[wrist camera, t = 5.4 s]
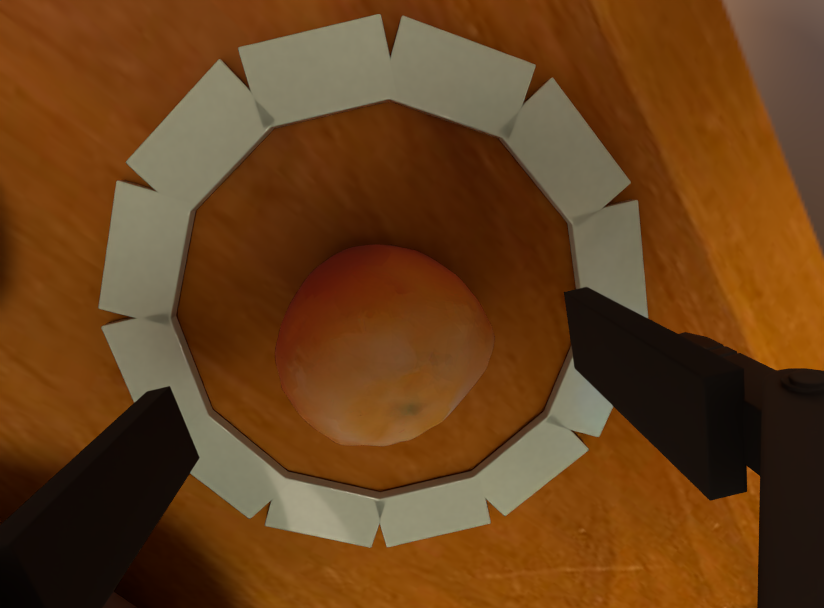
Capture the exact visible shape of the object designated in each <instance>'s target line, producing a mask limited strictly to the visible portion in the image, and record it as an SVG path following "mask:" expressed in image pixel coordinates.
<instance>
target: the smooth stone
mask: <svg viewBox="0 0 824 608" xmlns="http://www.w3.org/2000/svg"><path fill="white" fill-rule="evenodd" d="M103 608H137V607H136V606H134V605H133V604H131V603H130V602H128V601H127V600H125V599H124V598H122V597H121V596H119V595H118V594H116V593H115V592H113V593H112V594H111V596H110V597H109V599H108V600H107V602H106V604H105V605H104V607H103Z"/></svg>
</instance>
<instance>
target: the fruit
mask: <svg viewBox="0 0 824 608" xmlns="http://www.w3.org/2000/svg"><path fill="white" fill-rule="evenodd" d="M494 340H495V336H494V333H493V328H492V325H491V323H490V322H489V320H488V319H487V316H486V314H485V312H484V310H483V308H482V306H481V304H480V303H479V301H478V300H477V298H476V297H475V296H474V294H473V293H472V292H471V291H470V290H469V288H468V287H467V286H466V285H465V284H464V282H463V281H462V280H461V279H460V278H459V277H458V276H457V275H455V274H454V273H453V272H451V271H450V270H449V269H447V268H446V267H444V266H443V265H441V264H440V263H438V262H437V261H435V260H434V259H432V258H431V257H429V256H427V255H425V254H423V253H421V252H419V251H416V250H412V249H407V248H401V247H398V246H393V245H379V244H374V245H362V246H355V247H351V248H347V249H345V250H343V251H341V252H339V253H337V254H335V255H333V256H331V257H330V258H328V259H327V260H326V261H325V262H323V263H322V264H320V265H319V266H318V267H316V268H315V269H314V270H313V271H312V272H311V273H310V274H309V275H308V277H307V278H306V279H305V281H304V282H303V284H302V285H301V287H300V288H299V290H298V291H297V293H296V295H295V296H294V298H293V299H292V301H291V303H290V305H289V307H288V309H287V311H286V314H285V316H284V318H283V321H282V324H281V327H280V331H279V335H278V339H277V343H276V348H275V361H276V365H277V368H278V372H279V376H280V380H281V386H282V390H283V391H284V393H285V394H286V395H287V396H288V398H289V400H290V402H291V403H292V405H293V406H294V408H295V409H296V410H297V412H298V413H299V414H300V416H301V417H302V418H303V419H304V420H305V421H306V422H308V423H309V424H310V425H311V426H312V427H313V428H315V429H316V430H318V431H319V432H320V433H322V434H324V435H326V436H327V437H328V438H330V439H331V440H332V441H333V442H336V443H338V444H340V445H352V446H353V445H373V446H386V445H392V444H395V443H398V442H401V441H407V440H411V439H413V438H415V437H417V436H419V435H420V434H422V433H423V432H425V431H427V430H428V429H430V428H432V427H433V426H435V425H437V424H439V423H441V422H442V421H443V420H444V419H445V418H446V417H447V416H448V415H449V414H450V413H451V412H452V411H453V410H454V409H455V407H456V406H457V405H458V404H459V403H460V401H461V400H462V399H463V398H464V397H465V395H466V394H467V393H468V392H469V391H470V389H471V388H472V387H473V386H474V385H475V383H476V382H477V381H478V379H479V378H480V377H481V375H482V374H483V373H484V371H485V370H486V368H487V365H488V362H489V358H490V356H491V353H492V350H493V346H494Z"/></svg>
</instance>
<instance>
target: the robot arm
mask: <svg viewBox="0 0 824 608" xmlns="http://www.w3.org/2000/svg"><path fill="white" fill-rule="evenodd" d="M564 296H565V303H566V311H567V318H568V325H569V332H570V340H571V347H572V354H573V361H574V368H575V369H576V370H577V371H578V372H579V373H580V374H581V375H582V376H583V377H584V378H585V379H586V380H587V381H588V382H589V383H590V384H591V385H592V386H593V387H594V388H595V389H596V390H597V391H598V392H599V393H600V394H601V395H602V396H603V397H604V398H605V399H607V400H608V401H609V402H610V403H611V404H612V405H613V406H614V407H615V408H616V409H617V410H618V411H619V412H620V413H621V414H622V415H623V416H624V417H625V418H626V419H627V420H628V421H629V422H630V423H631V424H632V425H633V426H634V427H635V428H636V429H637V430H638V431H639V432H640V433H641V434H642V435H643V436H644V437H645V438H647V439H648V440H649V441H650V442H651V443H652V444H653V445H654V446H655V447H656V448H657V449H658V450H659V451H660V452H661V453H662V454H663V455H664V456H665V457H666V458H667V459H668V460H669V461H670V462H671V463H672V464H673V465H674V466H675V467H676V468H677V469H678V470H679V471H680V472H681V473H682V474H683V475H684V476H686V477H687V478H688V479H689V480H690V481H691V482H692V483H693V484H694V485H695V486H696V487H697V488H698V489H699V490H700V491H701V492H702V493H703V494H704V495H705V496H706V497H707V498H708V499H709V500H714V499H718V498H723V497H727V496H731V495H735V494H739V493H743V492H747V469H746V465H747V466H748V467H749V468H751V469H752V470H753V471H754V472H756V473H757V474H758V475H759V476H760V513H759V561H758V608H824V371H821V370H813V369H784V370H778V371H776V370H774V369H772V368H770V367H768V366H766V365H764V364H762V363H760V362H758V361H755V360H753V359H751V358H749V357H747V356H745V355H743V354H741V353H738V354H737V351H735V350H733V349H731V348H729V347H727V346H726V347H724V346H723V345H722V344H720V343H718V342H716V341H714V340H712V339H710V338H708V337H704V336H700V335H695V334H691V333H687V332H685V333H681V334H677V333H675V332H673V331H671V330H669V329H667V328H665V327H663V326H661V325H659V324H657V323H656V322H654V321H652V320H650V319H648V318H646V317H644V316H642V315H640V314H638V313H636V312H634V311H633V310H631V309H629V308H627V307H625V306H623V305H621V304H619V303H617V302H615V301H613V300H611V299H610V298H608V297H606V296H604V295H602V294H600V293H598V292H596V291H594V290H592V289H590V288H588V287H583V288H579V289H575V290H571V291H567V292H564ZM199 458H200V457H199V455H198V452H197V450H196V448H195V445H194V443H193V440H192V438H191V436H190V433H189V431H188V428H187V426H186V423H185V421H184V419H183V416H182V414H181V411H180V409H179V407H178V404H177V402H176V399H175V397H174V394H173V392H172V390H171V387H170V386H168V387H163V388H159V389H155V390H151V391H147V392H146V393H145V394H144V395H142V396H141V397H140V398H139V399H138V400H137V401H136V402H135V403H134V404H133V405H131V406H130V407H129V408H128V409H127V410H126V411H125V412H124V413H123V414H122V415H121V416H119V417H118V418H117V419H116V420H115V421H114V422H113V423H112V424H111V425H110V426H108V427H107V428H106V429H105V430H104V431H103V432H102V433H101V434H100V435H99V436H97V437H96V438H95V439H94V440H93V441H92V442H91V443H90V444H89V445H88V446H87V447H85V448H84V449H83V450H82V451H81V452H80V453H79V454H78V455H77V456H76V457H74V458H73V459H72V460H71V461H70V462H69V463H68V464H67V465H66V466H65V467H63V468H62V469H61V470H60V471H59V472H58V473H57V474H56V475H55V476H54V477H53V478H51V479H50V480H49V481H48V482H47V483H46V484H45V485H44V486H43V487H42V488H40V489H39V490H38V491H37V492H36V493H35V494H34V495H33V496H32V497H31V498H29V499H28V500H27V501H26V502H25V503H24V504H23V505H22V506H21V507H20V508H19V509H17V510H16V511H15V512H14V513H13V514H12V515H11V516H10V517H9V518H8V519H6V520H5V521H4V522H3V523H2V524H1V525H0V608H103V607H104V605H105V604H106V602H107V600H108V599H109V597H110V596H111V594H112V593H113V591H114V590H115V588H116V587H117V585H118V583H119V582H120V580H121V579H122V577H123V576H124V574H125V573H126V571H127V570H128V568H129V566H130V565H131V563H132V562H133V560H134V559H135V557H136V556H137V554H138V553H139V551H140V549H141V548H142V546H143V545H144V543H145V542H146V540H147V539H148V537H149V536H150V534H151V532H152V531H153V529H154V528H155V526H156V525H157V523H158V522H159V520H160V519H161V517H162V515H163V514H164V512H165V511H166V509H167V508H168V506H169V505H170V503H171V501H172V500H173V498H174V497H175V495H176V494H177V492H178V491H179V489H180V488H181V486H182V484H183V483H184V481H185V480H186V478H187V477H188V475H189V474H190V472H191V471H192V469H193V467H194V466H195V464H196V463H197V461H198V460H199Z"/></svg>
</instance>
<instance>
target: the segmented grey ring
mask: <svg viewBox="0 0 824 608" xmlns="http://www.w3.org/2000/svg"><path fill="white" fill-rule="evenodd" d="M238 51H239V54H240V58H241V61H242V64H243V68H244V71H245V74H246V78H247V81H248V84H249V88H250V89H249V88H248V86H247V85H246V84H245V83H244V82H243V81H242V80H241V79H240V78H239V77H238V76H237V75H236V74H235V73H234V72H233V71H232V69H231V68H230V67H229V66H228V65H227V64H226V63H225V62H223V61H222V60H221V59H219V60H218V61H217V62H216V63H215V64H214V65H213V66H212V67H211V68H210V69H209V71H208V72H207V73H206V74H205V75H204V76H203V77H202V78H201V79H200V80H199V82H198V83H197V84H196V85H195V86H194V87H193V88H192V89H191V90H190V91H189V93H188V94H187V95H186V96H185V97H184V98H183V99H182V100H181V101H180V102H179V104H178V105H177V106H176V107H175V108H174V109H173V110H172V111H171V112H170V114H169V115H168V116H167V117H166V118H165V119H164V120H163V121H162V122H161V123H160V125H159V126H158V127H157V128H156V129H155V130H154V131H153V132H152V133H151V134H150V136H149V137H148V138H147V139H146V140H145V141H144V142H143V143H142V144H141V145H140V147H139V148H138V149H137V150H136V151H135V152H134V153H133V154H132V155H131V156H130V158H129V159H128V160H127V161H126V164H128V165H129V166H130V167H131V168H132V169H133V170H134V171H135V172H136V173H137V174H138V175H139V176H140V177H141V178H143V179H144V180H145V181H146V182H147V183H148V184H149V185H150V186H151V187H152V188H149V187H146V186H142V185H139V184H136V183H132V182H129V181H125V180H117V181H116V188H115V195H114V202H113V209H112V216H111V223H110V230H109V237H108V244H107V251H106V258H105V265H104V272H103V279H102V286H101V293H100V300H99V307H98V308H99V309H102V310H106V311H110V312H114V313H118V314H121V315H125V316H129V317H130V318H126V319H122V320H117V321H113V322H109V323H107V324H105V325H103V326H102V327H101V328H102V330H103V333H104V335H105V337H106V339H107V342H108V344H109V346H110V348H111V351H112V353H113V355H114V358H115V360H116V362H117V364H118V367H119V369H120V371H121V373H122V376H123V378H124V380H125V383H126V385H127V387H128V389H129V392H130V394H131V396H132V398H133V401H134V403H135V402H136V401H137V400H138V399H139V398H140V397H141V396H142V395H144V394H145V393H146V392H147V391H151V390H155V389H159V388H163V387H168V386H170V387H171V390H172V392H173V394H174V397H175V399H176V402H177V404H178V407H179V409H180V411H181V414H182V416H183V419H184V421H185V423H186V426H187V428H188V431H189V433H190V436H191V438H192V440H193V443H194V445H195V448H196V450H197V452H198V455H199V457H200V458H199V460H198V461H197V463H196V464H195V466H194V467H193V469H192V471H191V472H190V474H192V475H193V476H194V477H196V478H197V479H198V480H199V481H201V482H202V483H203V484H205V485H206V486H207V487H209V488H210V489H211V490H212V491H214V492H215V493H216V494H218V495H219V496H220V497H222V498H223V499H224V500H225V501H227V502H228V503H229V504H231V505H232V506H233V507H234V508H236V509H237V510H238V511H240V512H241V513H242V514H244V515H245V516H246V517H247V518H249V519H250V518H252V517H253V516H254V515H255V514H256V513H257V512H258V511H260V510H261V509H262V508H263V507H264V506H265V505H266V504H268V503H269V502H270V501H271V503H270V507H269V510H268V514H267V518H266V521H265V526H268V527H273V528H278V529H283V530H287V531H292V532H297V533H302V534H307V535H312V536H316V537H321V538H326V539H331V540H336V541H341V542H346V543H350V544H355V545H360V546H365V547H370V548H371V547H372V544H373V541H374V538H375V535H376V532H377V529H378V526H379V524H380V526H381V530H382V533H383V536H384V540H385V543H386V546H387V547H391V546H396V545H400V544H404V543H408V542H413V541H417V540H421V539H426V538H430V537H434V536H438V535H443V534H447V533H451V532H456V531H460V530H464V529H468V528H473V527H477V526H481V525H486V524H490V523H491V521H490V516H489V511H488V507H487V502H486V499H487V500H488V501H489V502H490V503H491V504H492V505H493V506H494V507H495V508H496V509H498V510H499V511H500V512H501V513H502V514H503V515H504V516H506V515H507V514H509V513H510V512H511V511H512V510H514V509H515V508H516V507H518V506H519V505H520V504H521V503H523V502H524V501H525V500H526V499H528V498H529V497H530V496H531V495H533V494H534V493H535V492H536V491H538V490H539V489H540V488H542V487H543V486H544V485H545V484H547V483H548V482H549V481H550V480H552V479H553V478H554V477H555V476H557V475H558V474H559V473H560V472H562V471H563V470H564V469H565V468H567V467H568V466H569V465H571V464H572V463H573V462H574V461H576V460H577V459H578V458H579V457H581V456H582V455H583V454H584V453H586V452H587V451H588V450H589V449H588V447H587V446H586V445H585V443H584V442H583V441H582V440H581V439H580V438H579V437H578V436H577V435H576V434H575V433H574V432H573V431H577V432H581V433H585V434H588V435H592V436H596V437H599V436H600V434H601V432H602V430H603V428H604V425H605V423H606V421H607V419H608V417H609V414H610V412H611V410H612V408H613V405H612V404H611V403H610V402H609V401H608V400H607V399H605V398H604V397H603V396H602V395H601V394H600V393H599V392H598V391H597V390H596V389H595V388H594V387H593V386H592V385H591V384H590V383H589V382H588V381H587V380H586V379H585V378H584V377H583V376H582V375H581V374H580V373H579V372H578V371H577V370H576V369H575V368H574V361H573V354H572V347H570V349H569V352H568V354H567V357H566V359H565V361H564V364H563V366H562V369H561V371H560V373H559V376H558V378H557V381H556V383H555V385H554V388H553V390H552V393H551V395H550V397H549V400H548V402H547V405H546V407H545V409H544V412H542V413H541V414H540V415H539V416H537V417H536V418H535V419H534V420H533V421H531V422H530V423H529V424H528V425H527V426H525V427H524V428H523V429H522V430H520V431H519V432H518V433H517V434H516V435H514V436H513V437H512V438H511V439H509V440H508V441H507V442H506V443H505V444H503V445H502V446H501V447H500V448H499V449H497V450H496V451H495V452H494V453H492V454H491V455H490V456H489V457H488V458H486V459H485V460H484V461H483V462H482V463H480V464H479V465H478V466H477V467H475V468H474V469H473V470H472V471H468V472H464V473H460V474H455V475H451V476H447V477H443V478H438V479H434V480H430V481H426V482H421V483H417V484H413V485H408V486H404V487H400V488H396V489H391V490H387V491H383V492H378V491H373V490H369V489H364V488H360V487H355V486H351V485H346V484H342V483H338V482H333V481H329V480H324V479H320V478H315V477H311V476H306V475H302V474H297V473H293V472H288V471H287V470H286V469H284V468H283V467H282V466H281V465H279V464H278V463H277V462H276V461H275V460H273V459H272V458H271V457H270V456H269V455H267V454H266V453H265V452H264V451H263V450H261V449H260V448H259V447H258V446H256V445H255V444H254V443H253V442H252V441H250V440H249V439H248V438H247V437H246V436H244V435H243V434H242V433H241V432H239V431H238V430H237V429H236V428H235V427H233V426H232V425H231V424H230V423H229V422H227V421H226V420H225V419H224V418H222V417H221V416H220V415H219V414H218V413H216V412H215V411H214V410H213V409H212V407H211V404H210V401H209V399H208V396H207V394H206V391H205V389H204V386H203V383H202V381H201V378H200V376H199V373H198V371H197V368H196V365H195V363H194V360H193V358H192V355H191V353H190V350H189V347H188V345H187V342H186V340H185V337H184V335H183V332H182V329H181V327H180V324H179V322H178V319H177V317H176V313H177V308H178V302H179V297H180V292H181V286H182V281H183V276H184V270H185V265H186V260H187V254H188V249H189V244H190V238H191V233H192V228H193V222H194V217H195V212H196V210H197V209H198V208H199V207H200V206H201V205H202V203H203V202H204V201H205V200H206V199H207V198H208V197H209V196H210V195H211V194H212V193H213V192H214V191H215V190H216V189H217V188H218V187H219V186H220V185H221V184H222V183H223V182H224V181H225V179H226V178H227V177H228V176H229V175H230V174H231V173H232V172H233V171H234V170H235V169H236V168H237V167H238V166H239V165H240V164H241V163H242V162H243V161H244V160H245V159H246V158H247V157H248V155H249V154H250V153H251V152H252V151H253V150H254V149H255V148H256V147H257V146H258V145H259V144H260V143H261V142H262V141H263V140H264V139H265V138H266V137H267V136H268V135H269V134H270V133H271V131H272V130H273V129H275V128H279V127H283V126H288V125H292V124H296V123H300V122H304V121H309V120H313V119H317V118H321V117H326V116H330V115H334V114H338V113H342V112H347V111H351V110H355V109H359V108H363V107H368V106H372V105H376V104H380V103H385V102H389V101H390V102H393V103H395V104H398V105H401V106H404V107H407V108H410V109H413V110H416V111H419V112H422V113H425V114H428V115H431V116H433V117H436V118H439V119H442V120H445V121H448V122H451V123H454V124H457V125H460V126H463V127H466V128H469V129H471V130H474V131H477V132H480V133H483V134H486V135H489V136H492V137H495V138H498V139H499V140H500V141H501V142H502V143H503V145H504V146H505V147H506V148H507V149H508V151H509V152H510V153H511V154H512V156H513V157H514V158H515V159H516V161H517V162H518V163H519V164H520V165H521V167H522V168H523V169H524V170H525V172H526V173H527V174H528V175H529V177H530V178H531V179H532V180H533V181H534V183H535V184H536V185H537V186H538V188H539V189H540V190H541V191H542V193H543V194H544V195H545V196H546V197H547V199H548V200H549V201H550V202H551V204H552V205H553V206H554V207H555V209H556V210H557V211H558V212H559V213H560V215H561V216H562V217H563V218H564V220H565V221H566V222H567V224H568V232H569V239H570V247H571V254H572V262H573V270H574V277H575V285H576V289H579V288H583V287H588V288H590V289H592V290H594V291H596V292H598V293H600V294H602V295H604V296H606V297H608V298H610V299H611V300H613V301H615V302H617V303H619V304H621V305H623V306H625V307H627V308H629V309H631V310H633V311H634V312H636V313H638V314H640V315H642V316H644V317H646V318H648V309H647V298H646V286H645V275H644V263H643V252H642V241H641V229H640V218H639V207H638V200H631V199H630V200H626V201H622V202H618V203H614V204H609V205H607V204H608V203H609V202H610V201H611V200H612V199H613V198H615V197H616V196H617V195H618V194H619V193H620V192H621V191H622V190H624V189H625V188H626V187H627V186H628V185H629V184H630V183H631V182H630V180H629V179H628V177H627V176H626V175H625V173H624V172H623V171H622V169H621V168H620V167H619V165H618V164H617V163H616V161H615V160H614V159H613V157H612V156H611V155H610V153H609V152H608V151H607V149H606V148H605V147H604V145H603V144H602V143H601V141H600V140H599V139H598V137H597V136H596V135H595V133H594V132H593V131H592V129H591V128H590V127H589V125H588V124H587V123H586V121H585V120H584V119H583V117H582V116H581V115H580V113H579V112H578V111H577V109H576V108H575V107H574V105H573V104H572V103H571V101H570V100H569V99H568V97H567V96H566V94H565V93H564V92H563V90H562V89H561V88H560V86H559V85H558V84H557V82H556V81H555V80H554V78H550V79H549V80H547V81H546V82H545V83H544V84H543V85H542V86H541V87H540V88H539V89H537V90H536V91H535V92H534V93H533V94H532V95H531V96H530V97H529V98H528V99H527V100H526V101H525V102H524V100H525V97H526V94H527V91H528V88H529V85H530V82H531V79H532V76H533V73H534V70H535V67H536V65H535V64H533V63H530V62H527V61H525V60H522V59H519V58H517V57H514V56H511V55H509V54H506V53H503V52H500V51H498V50H495V49H492V48H490V47H487V46H484V45H481V44H479V43H476V42H473V41H471V40H468V39H465V38H463V37H460V36H457V35H454V34H452V33H449V32H446V31H444V30H441V29H438V28H436V27H433V26H430V25H427V24H425V23H422V22H419V21H417V20H414V19H411V18H408V17H406V16H402V17H401V20H400V23H399V27H398V31H397V35H396V38H395V42H394V46H393V49H392V53H391V57H390V54H389V50H388V45H387V40H386V36H385V31H384V27H383V22H382V17H381V14H376V15H372V16H368V17H364V18H360V19H355V20H351V21H347V22H343V23H339V24H334V25H330V26H326V27H322V28H318V29H313V30H309V31H305V32H301V33H297V34H292V35H288V36H284V37H280V38H276V39H271V40H267V41H263V42H259V43H255V44H250V45H246V46H242V47H239V48H238ZM523 102H524V103H523ZM572 430H573V431H572Z"/></svg>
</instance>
